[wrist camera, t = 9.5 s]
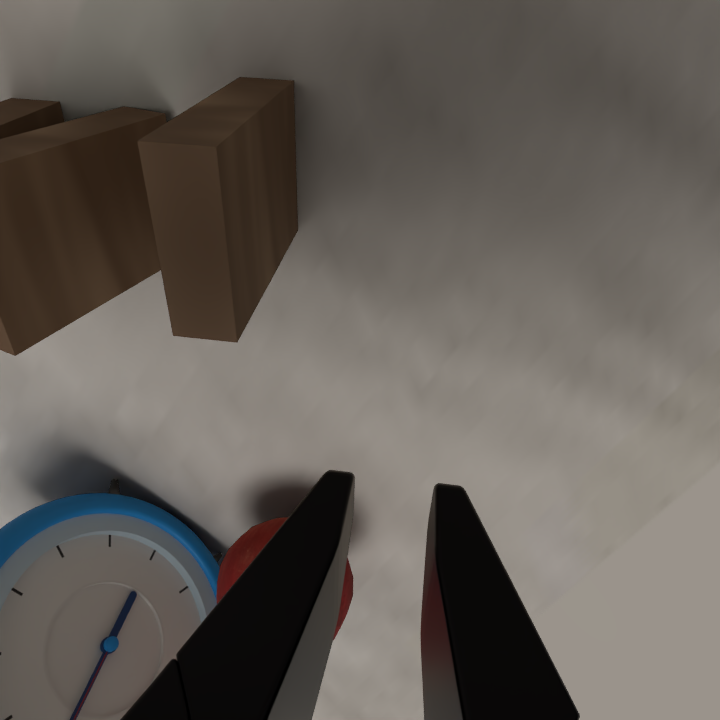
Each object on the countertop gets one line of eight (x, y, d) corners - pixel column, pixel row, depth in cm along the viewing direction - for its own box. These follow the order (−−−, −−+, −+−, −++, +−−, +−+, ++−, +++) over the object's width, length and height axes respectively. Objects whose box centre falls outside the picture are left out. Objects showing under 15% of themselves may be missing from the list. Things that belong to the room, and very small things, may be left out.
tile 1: (293, 80, 17) (216, 147, 11) (298, 230, 19) (236, 342, 14) (239, 76, 17) (136, 140, 11) (251, 226, 20) (173, 335, 14)
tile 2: (164, 113, 17) (-54, 178, 12) (186, 254, 20) (15, 355, 15) (123, 106, 18) (-102, 166, 13) (150, 244, 20) (-28, 339, 15)
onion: (349, 475, 26) (315, 651, 20) (371, 555, 29) (349, 728, 23) (229, 480, 27) (160, 646, 21) (263, 556, 30) (213, 720, 24)
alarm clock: (274, 578, 31) (163, 972, 19) (205, 610, 34) (71, 971, 22) (70, 432, 27) (-244, 834, 15) (11, 484, 30) (-293, 854, 18)
